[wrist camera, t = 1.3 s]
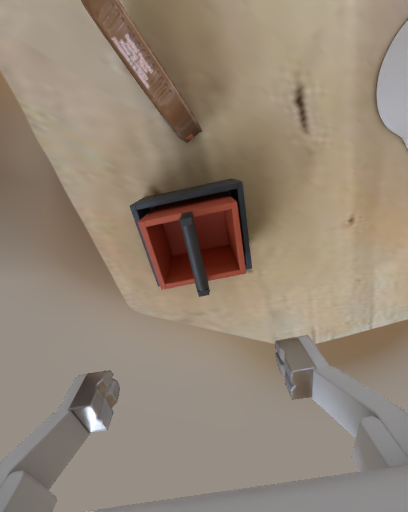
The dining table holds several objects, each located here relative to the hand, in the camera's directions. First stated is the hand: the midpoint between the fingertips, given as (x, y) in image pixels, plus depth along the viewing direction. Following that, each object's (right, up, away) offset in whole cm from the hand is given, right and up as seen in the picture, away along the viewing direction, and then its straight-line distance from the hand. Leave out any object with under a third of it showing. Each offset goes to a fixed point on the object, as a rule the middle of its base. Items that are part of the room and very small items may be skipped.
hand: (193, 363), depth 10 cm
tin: (-5, +27, +15) cm, 31 cm away
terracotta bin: (-1, +10, +22) cm, 24 cm away
